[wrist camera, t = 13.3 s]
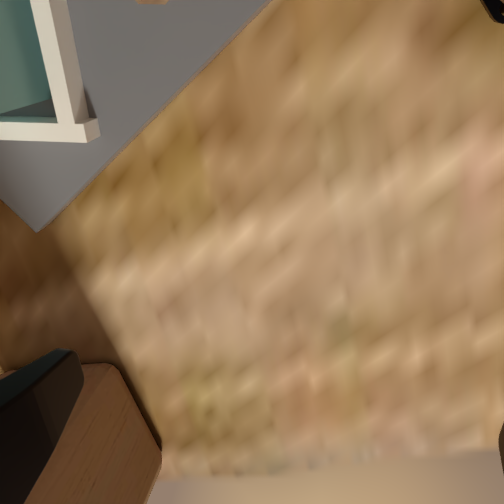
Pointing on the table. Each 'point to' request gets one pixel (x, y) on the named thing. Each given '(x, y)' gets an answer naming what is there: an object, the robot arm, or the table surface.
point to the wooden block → (100, 448)
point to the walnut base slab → (152, 1)
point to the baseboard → (104, 89)
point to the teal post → (20, 58)
